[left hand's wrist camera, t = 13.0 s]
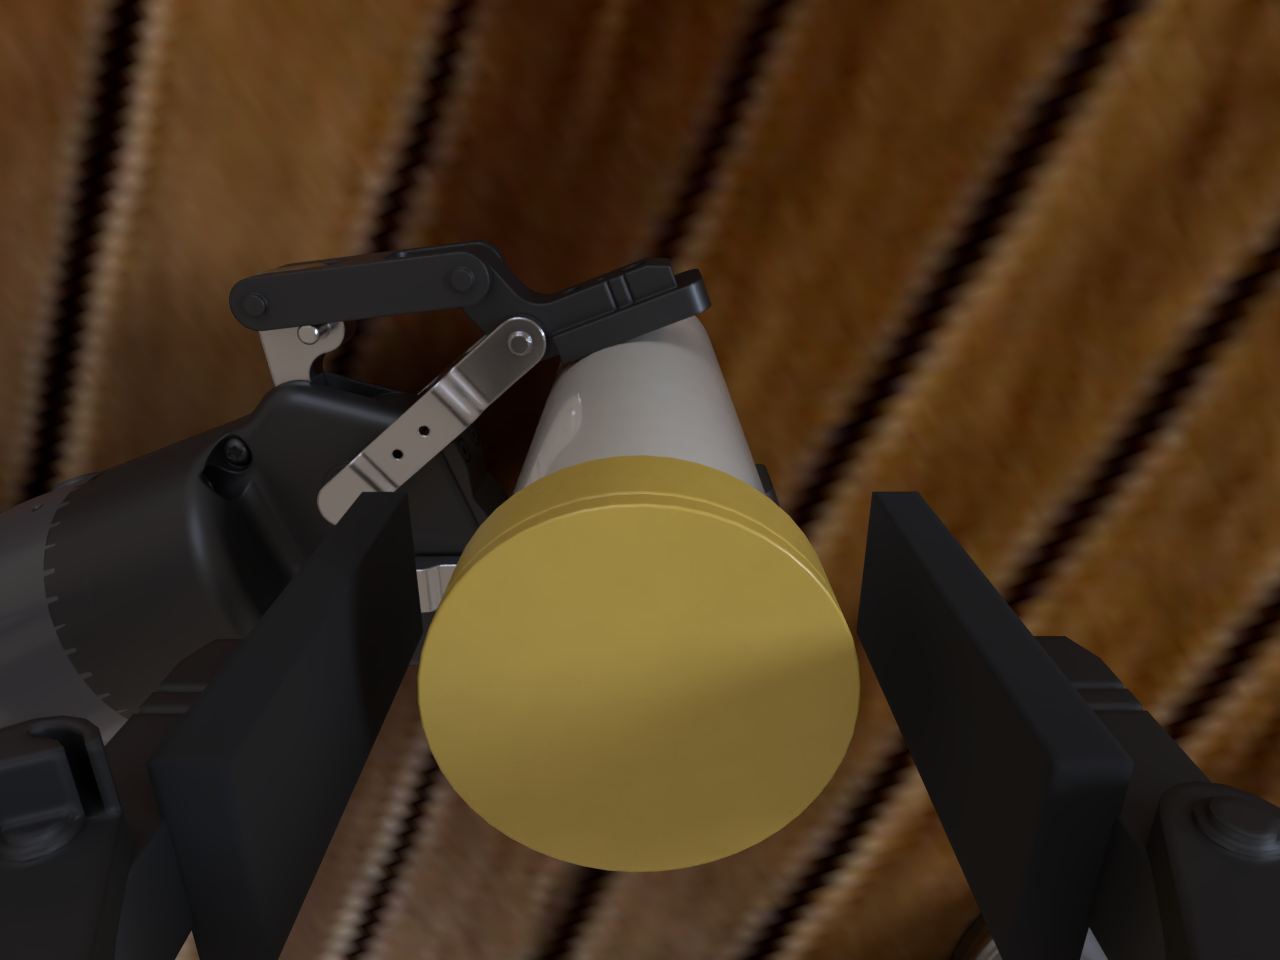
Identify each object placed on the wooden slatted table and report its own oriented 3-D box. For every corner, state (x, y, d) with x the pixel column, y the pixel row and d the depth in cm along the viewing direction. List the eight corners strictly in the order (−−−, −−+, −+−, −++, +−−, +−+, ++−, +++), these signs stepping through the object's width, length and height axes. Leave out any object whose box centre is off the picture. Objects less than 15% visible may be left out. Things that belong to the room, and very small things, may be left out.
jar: (684, 456, 28) (741, 853, 12) (545, 411, 27) (420, 769, 12) (736, 320, 26) (880, 580, 11) (590, 269, 26) (513, 465, 10)
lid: (893, 516, 11) (934, 575, 10) (756, 820, 14) (772, 909, 12) (493, 404, 11) (468, 447, 9) (412, 739, 13) (380, 822, 11)
